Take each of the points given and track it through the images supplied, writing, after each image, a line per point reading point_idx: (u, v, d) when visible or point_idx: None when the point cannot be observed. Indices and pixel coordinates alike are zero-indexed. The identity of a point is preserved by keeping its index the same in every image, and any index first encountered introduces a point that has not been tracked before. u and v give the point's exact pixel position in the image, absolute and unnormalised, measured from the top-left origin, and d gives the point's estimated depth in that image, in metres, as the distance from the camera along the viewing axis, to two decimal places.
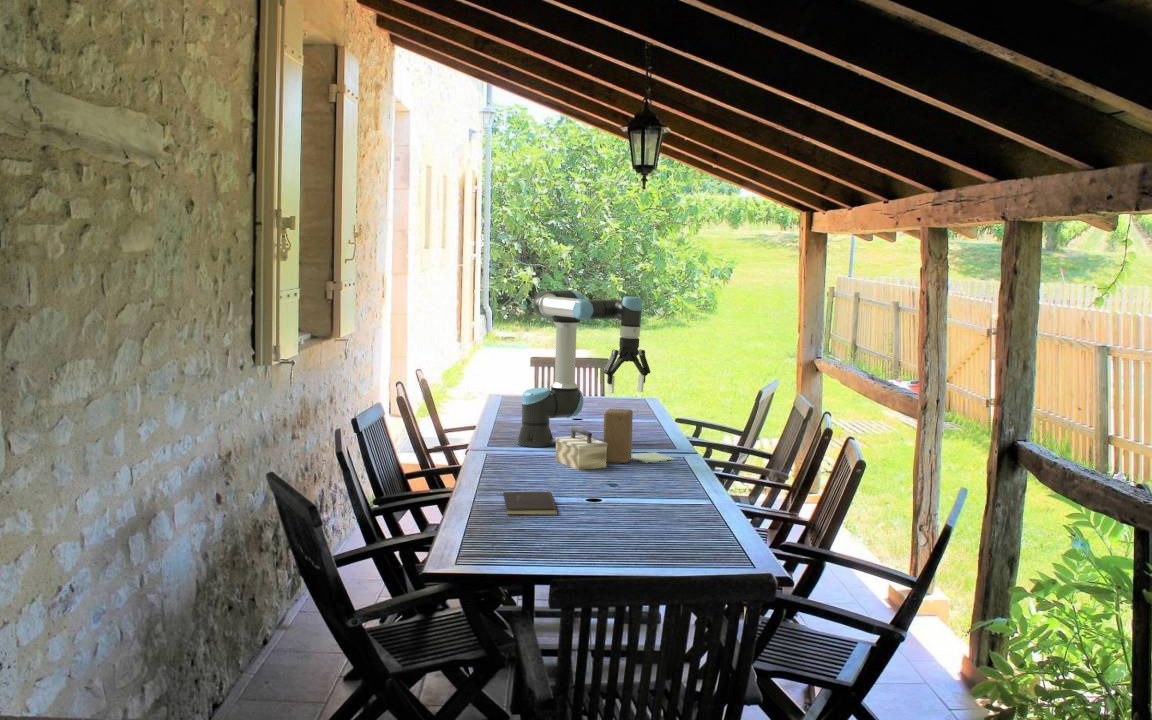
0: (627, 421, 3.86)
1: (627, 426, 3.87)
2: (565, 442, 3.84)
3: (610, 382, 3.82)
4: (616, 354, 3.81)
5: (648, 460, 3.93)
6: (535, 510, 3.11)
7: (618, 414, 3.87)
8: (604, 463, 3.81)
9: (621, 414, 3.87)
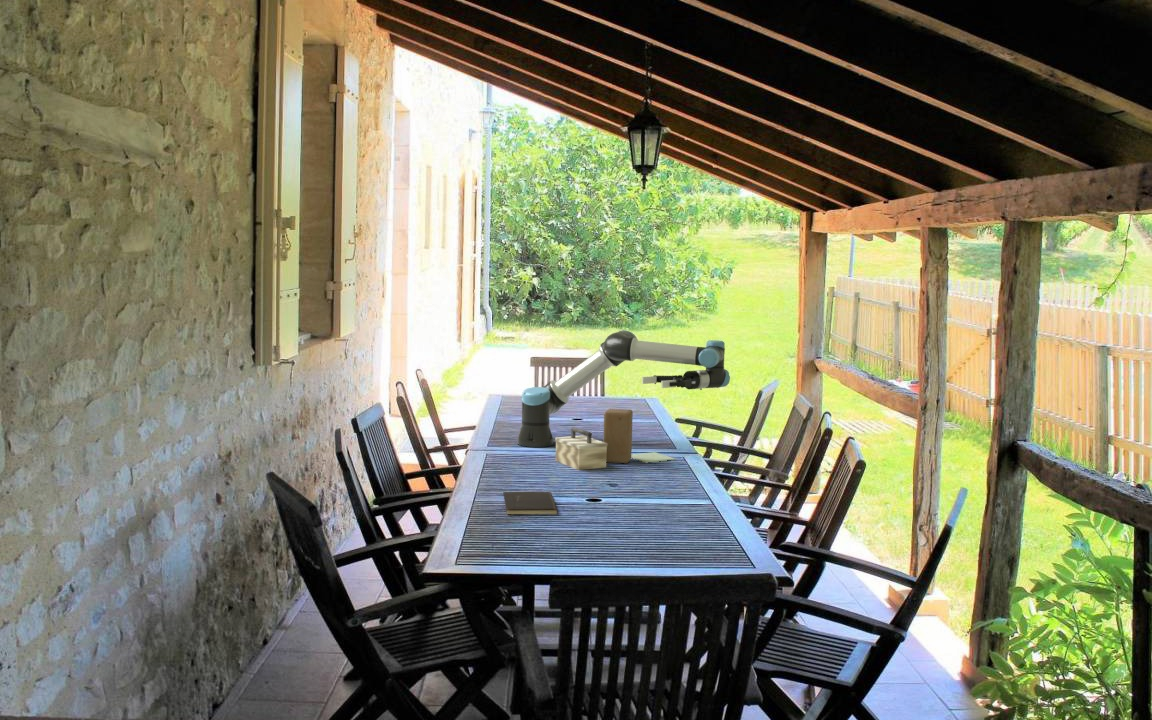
0: (627, 421, 3.86)
1: (627, 426, 3.87)
2: (565, 442, 3.84)
3: (671, 386, 3.94)
4: None
5: (648, 460, 3.93)
6: (535, 510, 3.11)
7: (618, 414, 3.87)
8: (604, 463, 3.81)
9: (621, 414, 3.87)
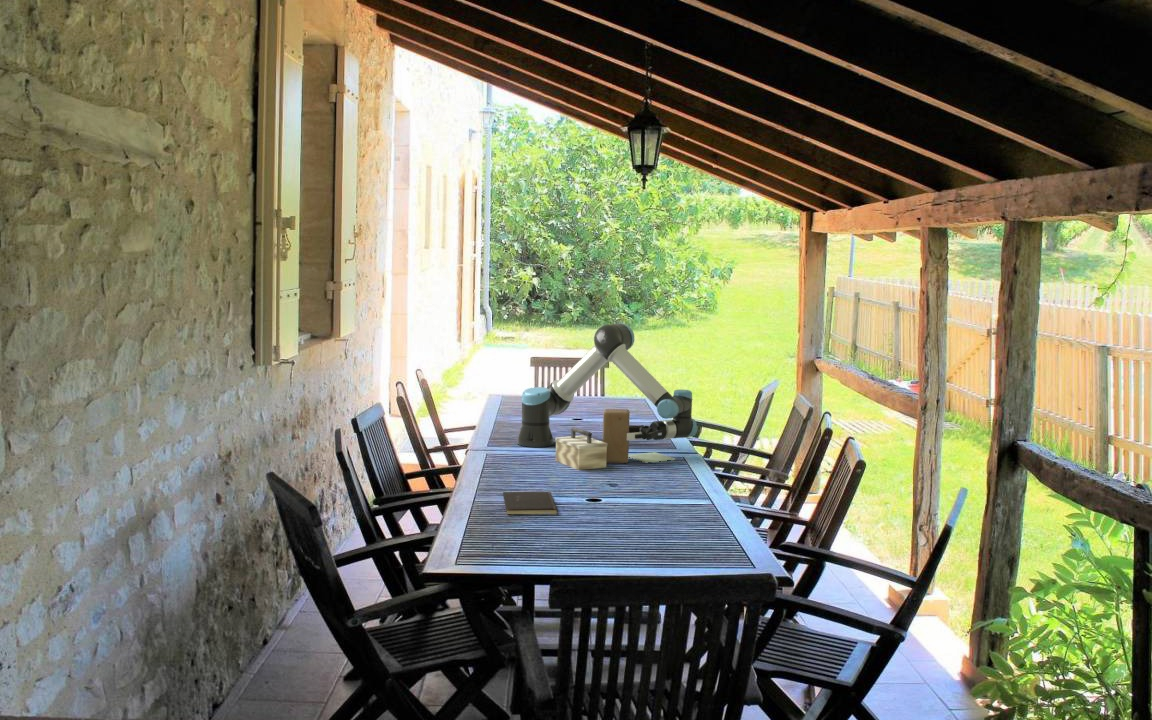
0: (627, 421, 3.87)
1: (627, 426, 3.87)
2: (565, 442, 3.84)
3: None
4: None
5: (648, 460, 3.93)
6: (535, 510, 3.11)
7: (618, 414, 3.87)
8: (604, 463, 3.81)
9: (621, 414, 3.86)
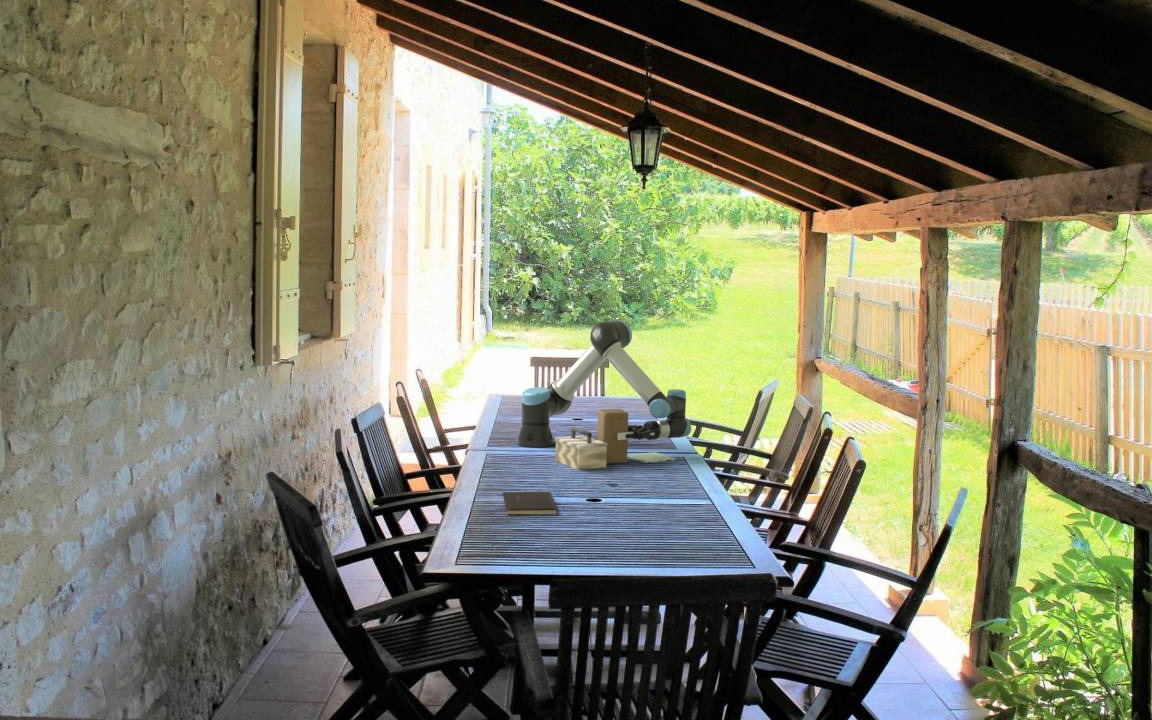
0: (627, 420, 3.87)
1: (627, 425, 3.88)
2: (565, 442, 3.84)
3: None
4: None
5: (648, 460, 3.93)
6: (535, 510, 3.11)
7: (618, 414, 3.86)
8: (604, 463, 3.81)
9: (621, 414, 3.86)
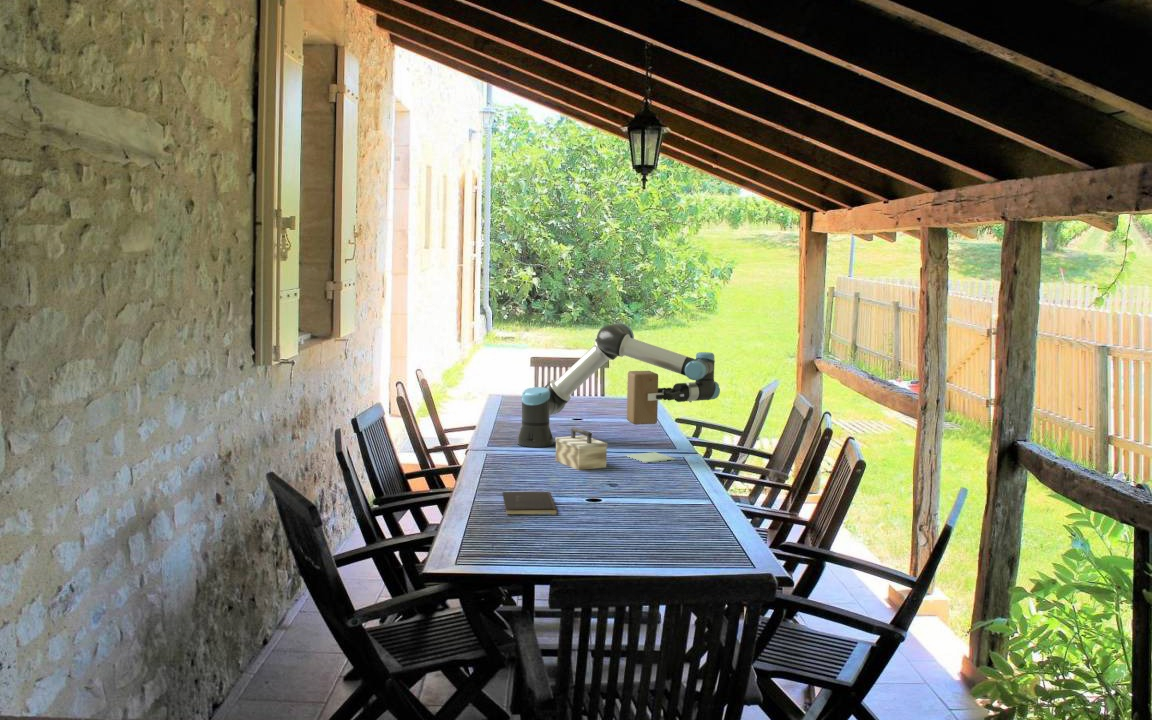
0: (657, 381, 3.91)
1: (657, 386, 3.91)
2: (565, 442, 3.84)
3: (658, 398, 3.90)
4: (680, 398, 3.97)
5: (648, 460, 3.93)
6: (535, 510, 3.11)
7: (648, 375, 3.90)
8: (604, 463, 3.81)
9: (651, 375, 3.90)
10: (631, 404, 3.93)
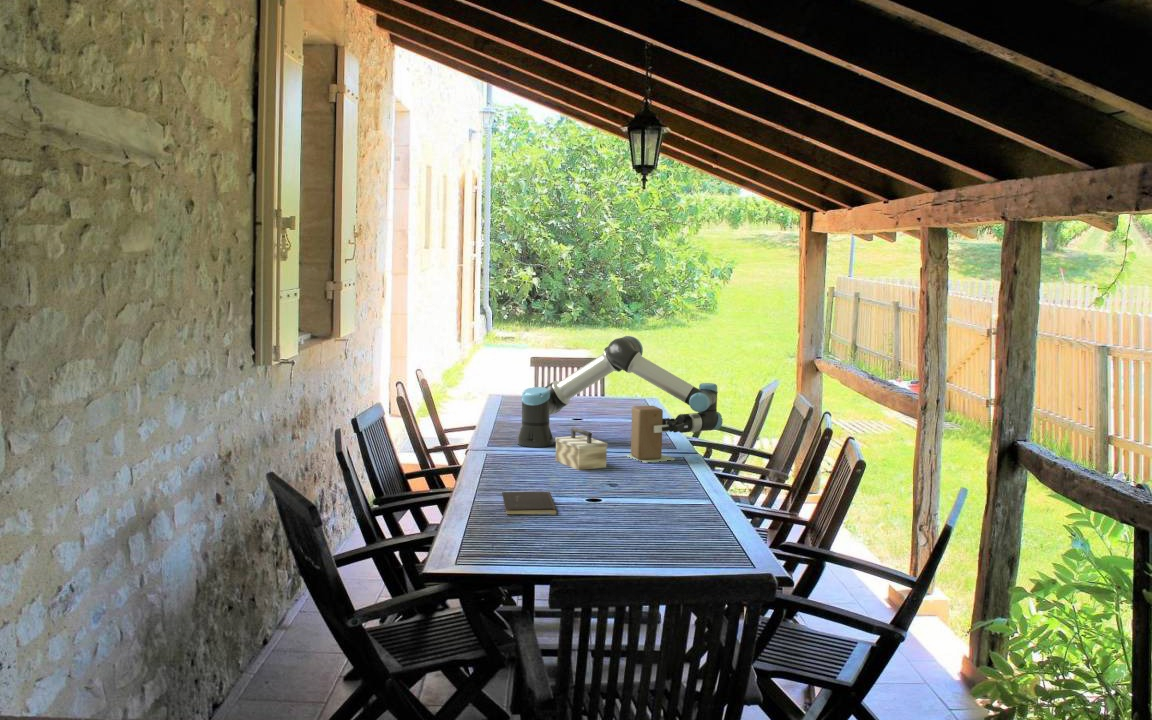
0: (661, 417, 3.94)
1: (661, 422, 3.94)
2: (565, 442, 3.84)
3: (664, 430, 3.93)
4: (684, 429, 3.99)
5: (648, 460, 3.93)
6: (534, 510, 3.11)
7: (653, 411, 3.93)
8: (604, 463, 3.81)
9: (656, 410, 3.93)
10: (636, 439, 3.95)
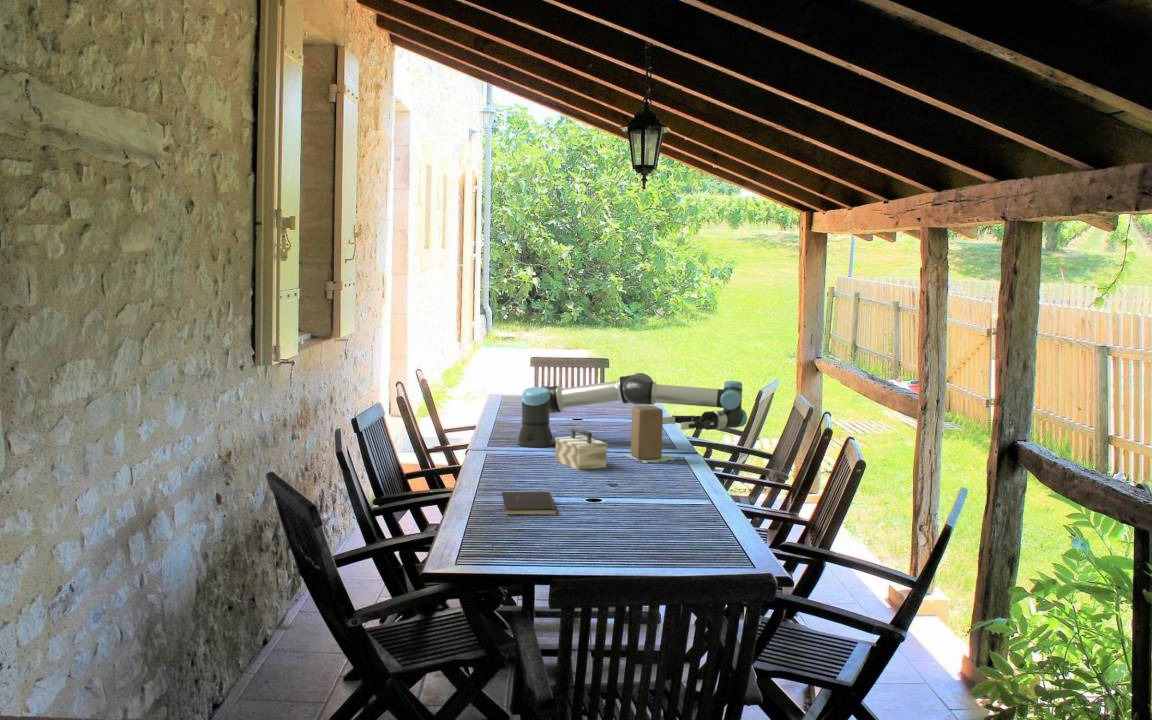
0: (661, 417, 3.94)
1: (661, 422, 3.94)
2: (565, 442, 3.84)
3: (690, 427, 3.99)
4: (710, 426, 4.06)
5: (648, 460, 3.93)
6: (534, 510, 3.11)
7: (653, 411, 3.93)
8: (604, 463, 3.81)
9: (656, 410, 3.93)
10: (636, 439, 3.95)
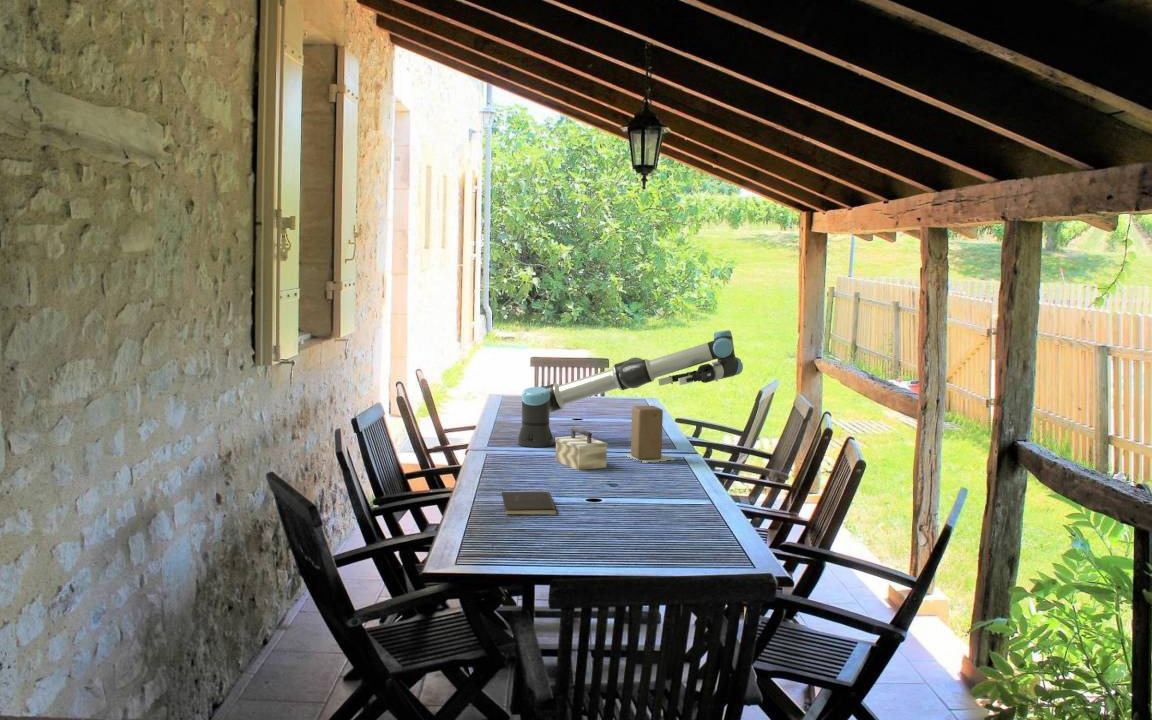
0: (661, 417, 3.94)
1: (661, 422, 3.94)
2: (565, 442, 3.84)
3: (688, 381, 4.00)
4: (707, 377, 4.07)
5: (648, 460, 3.93)
6: (534, 510, 3.11)
7: (653, 411, 3.93)
8: (604, 463, 3.81)
9: (656, 410, 3.93)
10: (636, 439, 3.95)
